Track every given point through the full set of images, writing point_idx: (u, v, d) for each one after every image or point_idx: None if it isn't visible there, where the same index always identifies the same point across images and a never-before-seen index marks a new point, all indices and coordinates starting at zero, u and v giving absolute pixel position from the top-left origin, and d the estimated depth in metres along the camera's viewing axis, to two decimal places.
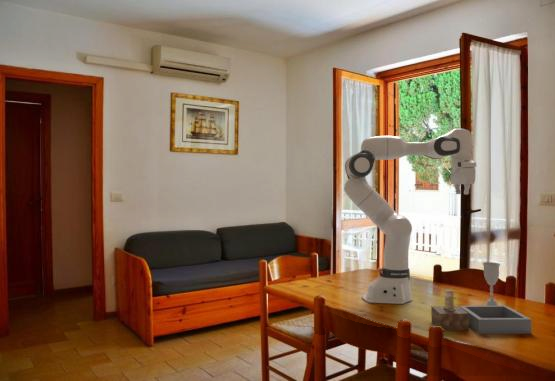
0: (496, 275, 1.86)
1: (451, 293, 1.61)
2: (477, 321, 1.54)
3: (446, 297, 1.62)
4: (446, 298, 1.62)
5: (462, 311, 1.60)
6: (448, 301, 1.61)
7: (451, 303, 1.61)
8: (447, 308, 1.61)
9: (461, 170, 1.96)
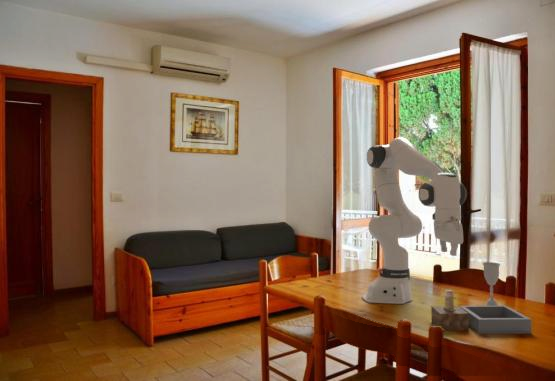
0: (496, 275, 1.86)
1: (451, 293, 1.61)
2: (477, 321, 1.54)
3: (446, 297, 1.62)
4: (446, 298, 1.62)
5: (462, 311, 1.60)
6: (448, 301, 1.61)
7: (451, 303, 1.61)
8: (447, 308, 1.61)
9: None
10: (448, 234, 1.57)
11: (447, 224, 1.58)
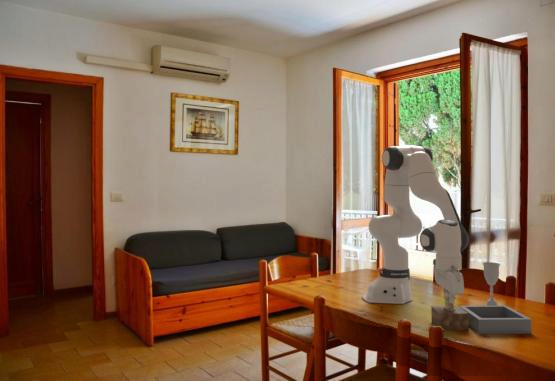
0: (496, 275, 1.86)
1: None
2: (477, 321, 1.54)
3: (446, 297, 1.62)
4: (446, 298, 1.62)
5: (462, 311, 1.60)
6: None
7: (451, 303, 1.61)
8: (447, 308, 1.61)
9: None
10: (449, 283, 1.57)
11: (447, 273, 1.58)
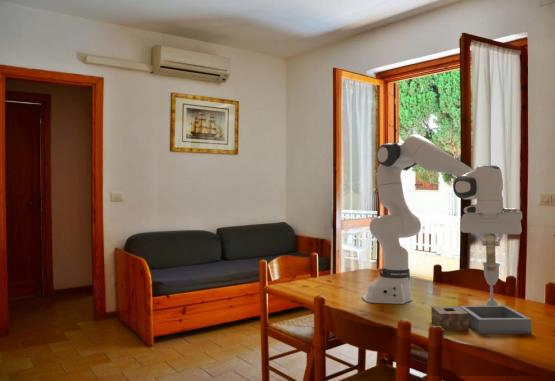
0: (496, 275, 1.86)
1: (494, 237, 1.61)
2: (477, 321, 1.54)
3: (492, 241, 1.60)
4: (492, 242, 1.60)
5: (462, 311, 1.60)
6: (494, 245, 1.60)
7: None
8: (493, 253, 1.60)
9: None
10: (506, 225, 1.57)
11: (502, 216, 1.58)
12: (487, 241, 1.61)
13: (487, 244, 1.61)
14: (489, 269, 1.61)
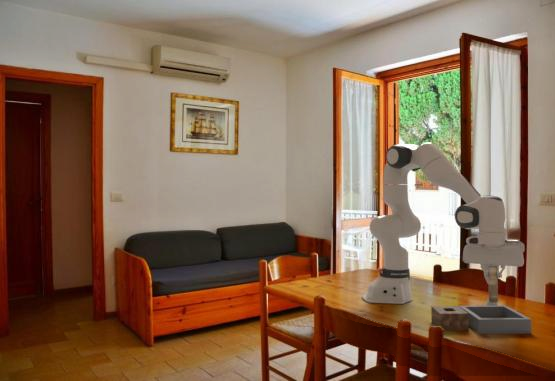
0: None
1: None
2: (477, 321, 1.54)
3: (494, 273, 1.60)
4: (494, 274, 1.60)
5: (462, 311, 1.60)
6: (496, 276, 1.60)
7: None
8: (495, 284, 1.60)
9: None
10: (508, 257, 1.57)
11: (504, 247, 1.58)
12: (489, 272, 1.61)
13: (489, 275, 1.61)
14: (491, 300, 1.61)
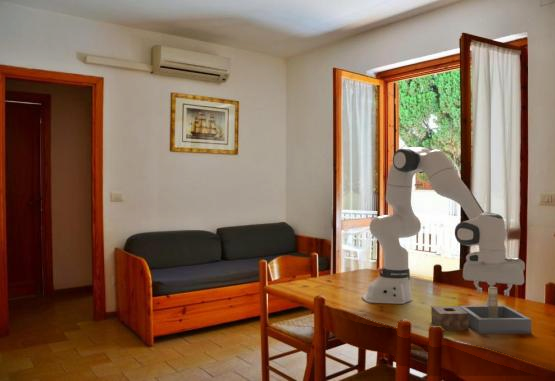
0: None
1: None
2: (477, 321, 1.54)
3: (494, 294, 1.61)
4: (494, 295, 1.61)
5: (462, 311, 1.60)
6: (496, 297, 1.61)
7: None
8: (495, 305, 1.61)
9: None
10: (508, 275, 1.58)
11: (505, 265, 1.58)
12: (489, 293, 1.62)
13: (489, 296, 1.62)
14: None
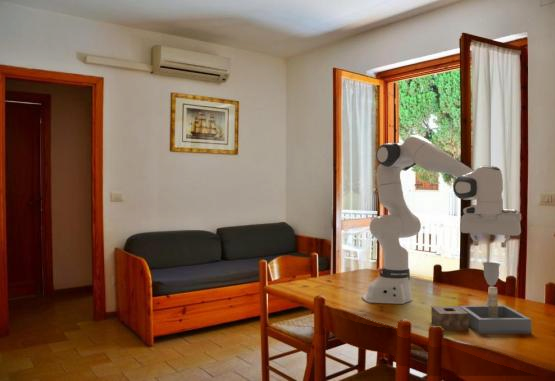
0: (496, 275, 1.86)
1: None
2: (477, 321, 1.54)
3: (494, 294, 1.60)
4: (494, 295, 1.60)
5: (462, 311, 1.60)
6: (496, 298, 1.61)
7: None
8: (495, 306, 1.60)
9: None
10: (504, 226, 1.58)
11: (501, 217, 1.59)
12: (489, 294, 1.61)
13: (489, 297, 1.61)
14: None
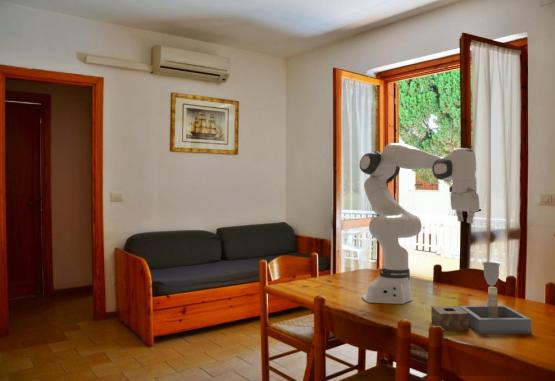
0: (496, 275, 1.86)
1: (496, 289, 1.61)
2: (477, 321, 1.54)
3: (494, 294, 1.60)
4: (494, 295, 1.60)
5: (462, 311, 1.60)
6: (496, 298, 1.61)
7: None
8: (495, 306, 1.60)
9: None
10: (465, 203, 1.72)
11: (464, 194, 1.73)
12: (489, 294, 1.61)
13: (489, 297, 1.61)
14: None
